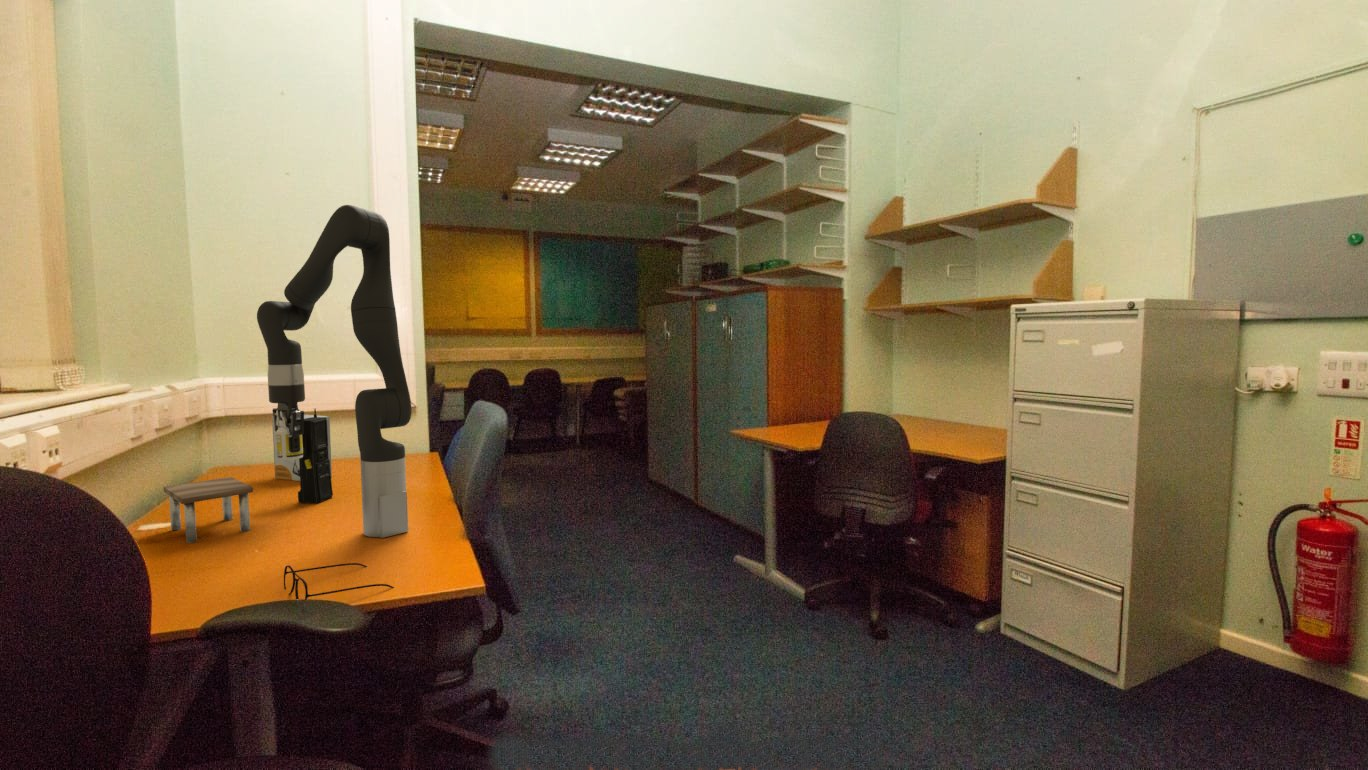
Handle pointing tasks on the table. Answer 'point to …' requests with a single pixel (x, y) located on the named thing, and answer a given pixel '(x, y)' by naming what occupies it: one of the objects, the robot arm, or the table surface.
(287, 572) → the glasses
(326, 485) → the portable radio
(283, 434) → the supplement bottle
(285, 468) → the hard drive box
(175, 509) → the small wooden stool
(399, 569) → the table surface
